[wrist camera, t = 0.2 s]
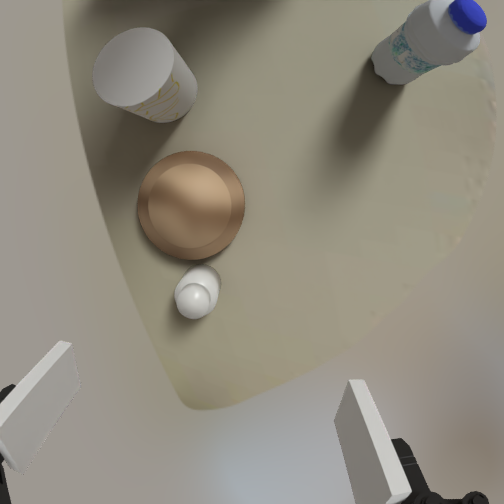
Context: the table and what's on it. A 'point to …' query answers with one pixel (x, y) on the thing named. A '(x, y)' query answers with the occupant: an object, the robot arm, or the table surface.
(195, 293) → the white knobbed rounded part
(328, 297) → the table surface
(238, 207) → the brown wooden plate
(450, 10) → the bottle
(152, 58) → the white cylindrical piece
